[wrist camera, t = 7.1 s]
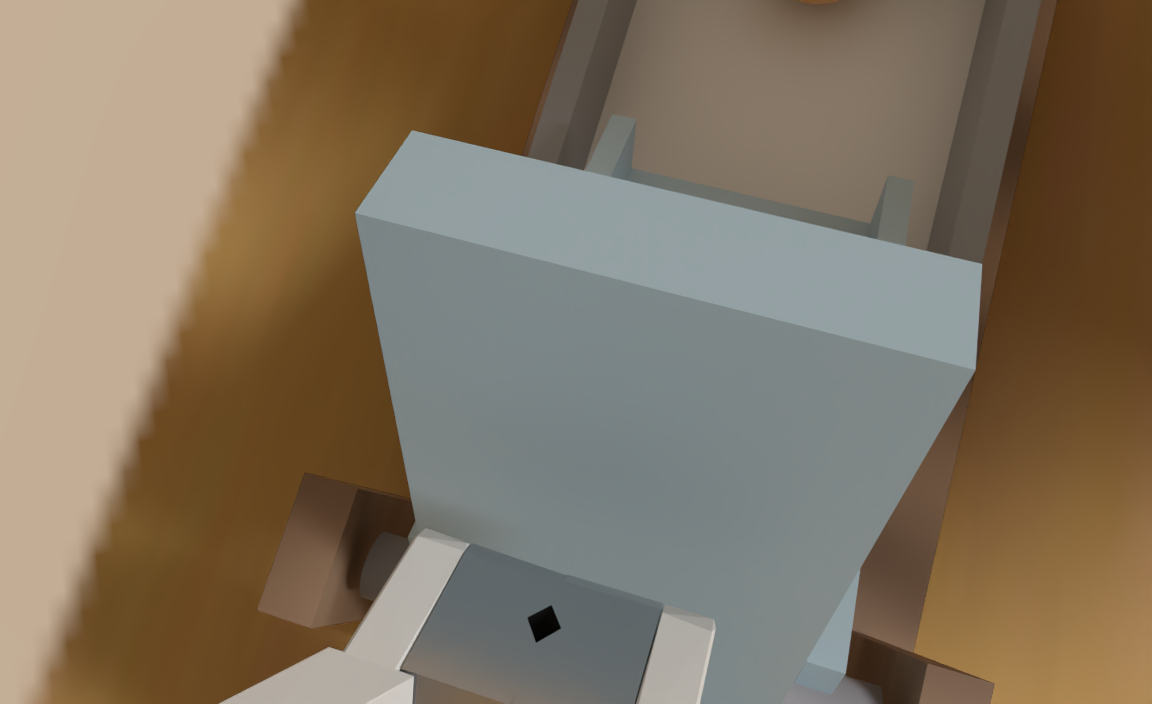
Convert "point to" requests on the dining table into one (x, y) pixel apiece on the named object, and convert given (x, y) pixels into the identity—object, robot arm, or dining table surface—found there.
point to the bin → (805, 101)
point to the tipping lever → (663, 388)
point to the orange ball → (818, 1)
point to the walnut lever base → (887, 577)
